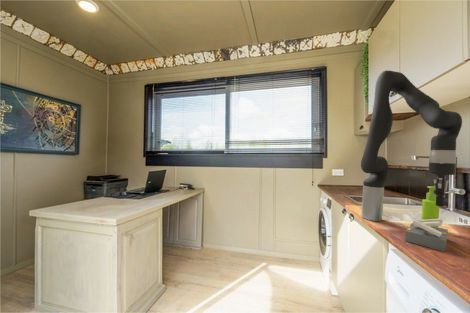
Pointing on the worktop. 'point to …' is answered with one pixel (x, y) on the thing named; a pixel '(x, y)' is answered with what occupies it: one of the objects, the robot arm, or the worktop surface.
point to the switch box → (427, 237)
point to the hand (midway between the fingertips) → (439, 206)
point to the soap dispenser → (430, 206)
